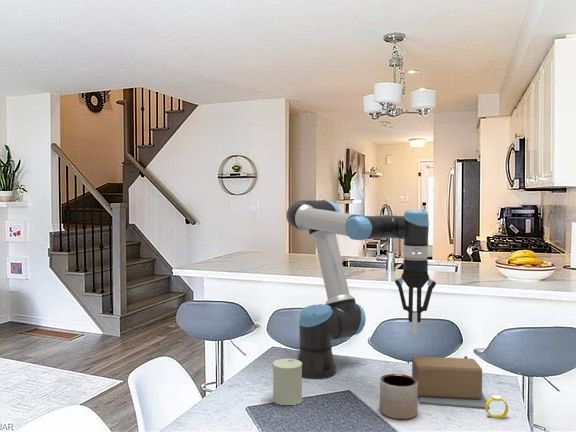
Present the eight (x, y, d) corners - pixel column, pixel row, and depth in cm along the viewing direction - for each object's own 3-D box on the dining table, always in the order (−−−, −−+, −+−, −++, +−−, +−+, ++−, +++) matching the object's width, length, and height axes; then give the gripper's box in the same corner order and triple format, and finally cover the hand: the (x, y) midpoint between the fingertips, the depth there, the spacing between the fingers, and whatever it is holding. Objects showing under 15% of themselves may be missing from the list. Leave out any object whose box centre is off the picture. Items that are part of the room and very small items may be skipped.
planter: (394, 423, 136) (394, 389, 135) (372, 408, 146) (372, 376, 145) (425, 416, 140) (425, 383, 140) (402, 402, 150) (402, 371, 150)
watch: (487, 419, 139) (486, 398, 139) (484, 415, 142) (483, 395, 141) (509, 419, 138) (508, 398, 138) (506, 415, 141) (505, 394, 141)
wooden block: (411, 385, 162) (474, 388, 160) (415, 397, 152) (482, 400, 150) (411, 355, 162) (474, 357, 160) (416, 365, 152) (483, 368, 150)
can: (306, 396, 155) (306, 358, 154) (297, 407, 146) (297, 368, 146) (278, 392, 158) (278, 355, 157) (268, 403, 149) (268, 364, 149)
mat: (419, 403, 149) (419, 401, 149) (416, 384, 165) (416, 382, 165) (489, 409, 145) (489, 407, 145) (479, 389, 161) (479, 387, 161)
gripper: (394, 259, 153) (393, 334, 154) (438, 260, 151) (436, 336, 152) (394, 256, 161) (393, 327, 162) (435, 258, 158) (434, 330, 159)
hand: (414, 332), depth 157 cm, fingers closed
